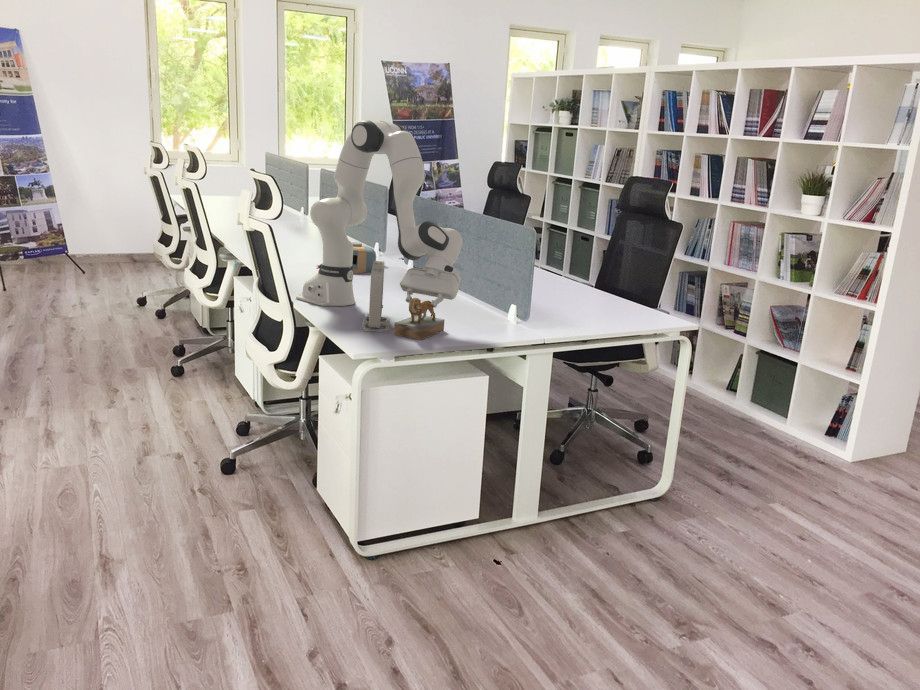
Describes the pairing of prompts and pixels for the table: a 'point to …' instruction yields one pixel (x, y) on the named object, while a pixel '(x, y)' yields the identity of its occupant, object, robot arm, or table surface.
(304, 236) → the table surface
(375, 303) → the network device
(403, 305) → the table surface
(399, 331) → the plinth
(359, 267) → the alarm clock
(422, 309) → the lion figurine
